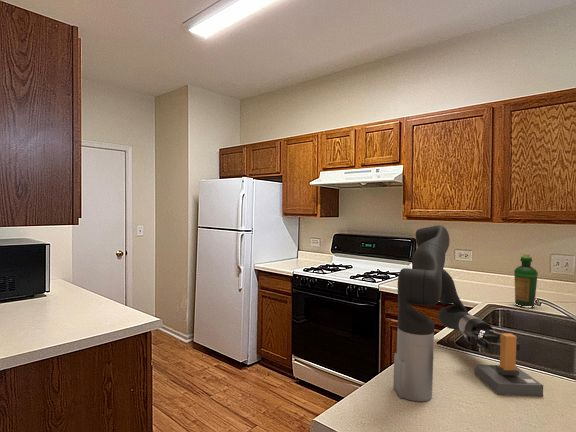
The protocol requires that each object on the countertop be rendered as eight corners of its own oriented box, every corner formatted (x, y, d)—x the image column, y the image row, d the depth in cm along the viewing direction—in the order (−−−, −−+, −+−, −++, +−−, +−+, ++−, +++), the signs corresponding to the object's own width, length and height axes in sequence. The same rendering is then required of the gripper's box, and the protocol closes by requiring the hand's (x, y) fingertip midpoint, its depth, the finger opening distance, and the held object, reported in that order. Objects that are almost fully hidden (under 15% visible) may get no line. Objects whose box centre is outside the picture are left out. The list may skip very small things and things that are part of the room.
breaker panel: (498, 394, 97) (498, 383, 97) (474, 373, 110) (475, 364, 110) (543, 396, 97) (543, 384, 97) (514, 375, 110) (514, 365, 110)
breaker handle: (503, 375, 102) (504, 336, 102) (495, 369, 105) (497, 332, 105) (518, 375, 102) (520, 337, 102) (511, 369, 105) (512, 333, 105)
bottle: (509, 303, 201) (511, 252, 200) (531, 304, 199) (532, 253, 198) (517, 308, 190) (519, 255, 190) (540, 309, 188) (542, 256, 188)
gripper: (454, 317, 122) (479, 333, 105) (496, 318, 122) (528, 334, 105) (453, 339, 122) (478, 359, 105) (496, 340, 122) (527, 360, 105)
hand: (503, 347), depth 105 cm, fingers open, 8 cm apart
